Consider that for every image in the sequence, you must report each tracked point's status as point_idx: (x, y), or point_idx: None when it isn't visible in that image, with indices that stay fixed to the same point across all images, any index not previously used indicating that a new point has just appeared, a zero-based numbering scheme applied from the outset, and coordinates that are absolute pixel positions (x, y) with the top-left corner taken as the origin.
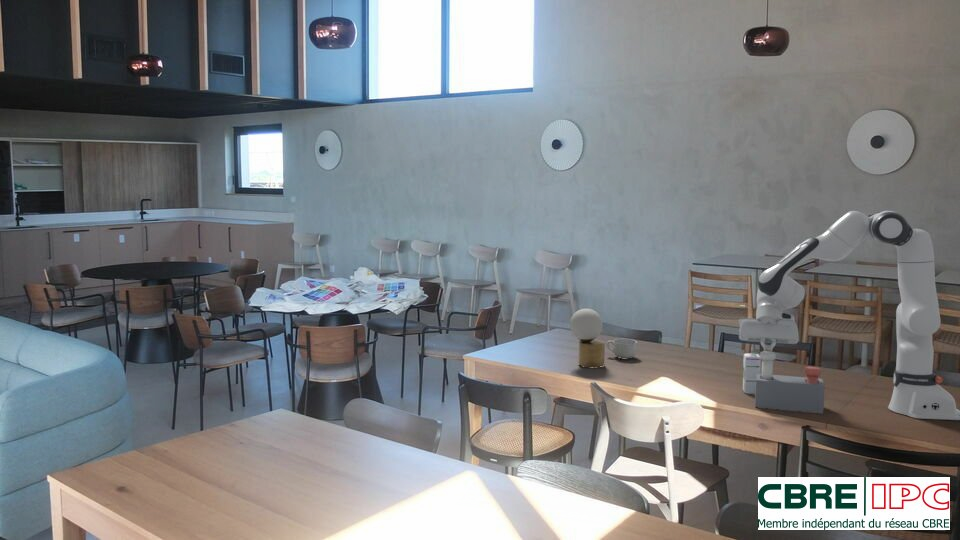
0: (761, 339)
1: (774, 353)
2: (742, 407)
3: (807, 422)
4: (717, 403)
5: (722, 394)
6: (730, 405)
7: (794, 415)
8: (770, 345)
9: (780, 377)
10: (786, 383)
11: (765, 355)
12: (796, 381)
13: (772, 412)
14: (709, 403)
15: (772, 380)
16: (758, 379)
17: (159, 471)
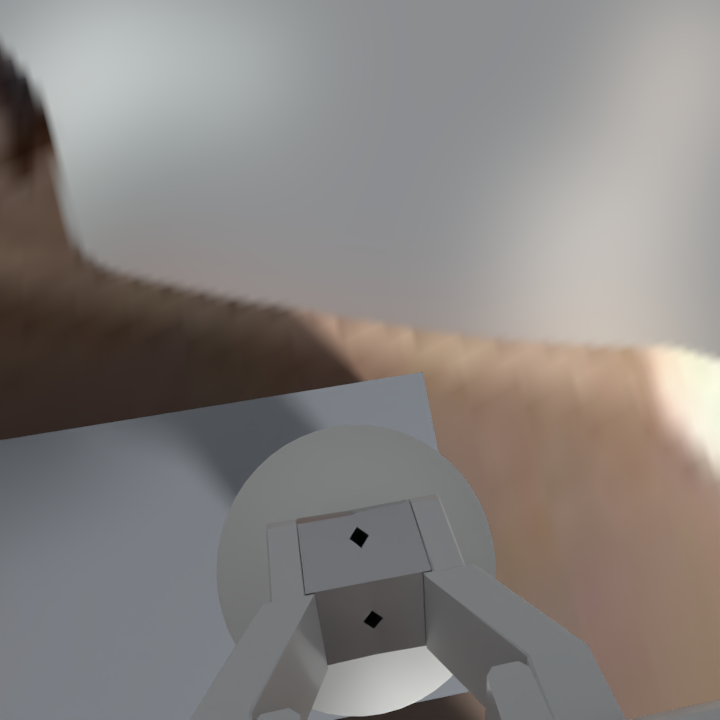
0: (589, 683)
1: (239, 585)
2: (471, 375)
3: (23, 230)
4: (647, 390)
5: (695, 674)
6: (556, 384)
7: (112, 351)
8: (317, 590)
9: (201, 631)
10: (124, 422)
11: (376, 431)
12: (19, 525)
13: (261, 352)
14: (693, 363)
15: (268, 437)
16: (407, 409)
17: None
